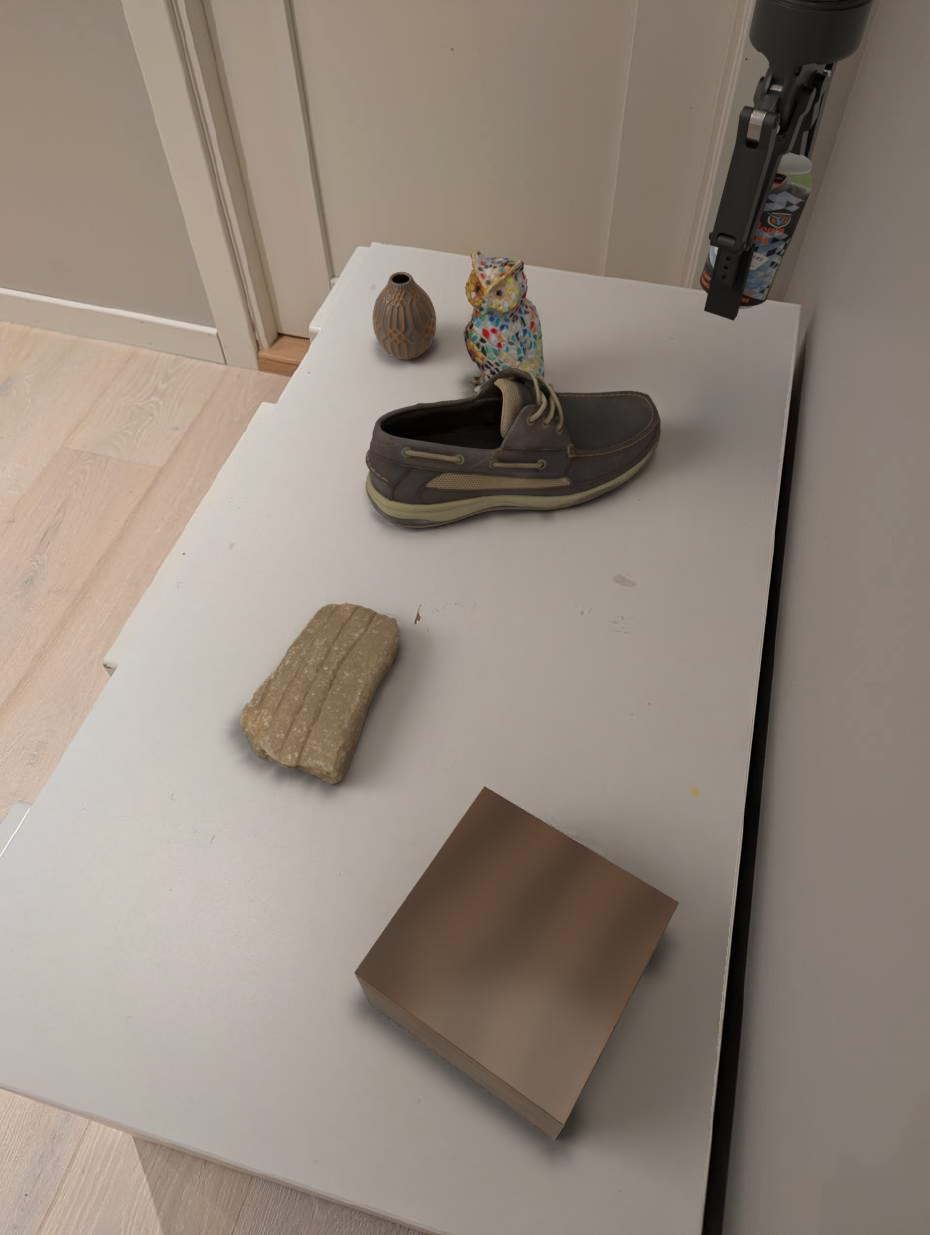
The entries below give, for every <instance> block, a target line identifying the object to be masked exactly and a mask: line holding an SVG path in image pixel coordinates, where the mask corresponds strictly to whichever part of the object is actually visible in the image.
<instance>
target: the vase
mask: <svg viewBox="0 0 930 1235" xmlns="http://www.w3.org/2000/svg"><path fill="white" fill-rule="evenodd" d="M373 305H374V306H373V310H372V327H373V332H374V336H375V338H376V340H377V343H378V344H379V345H380V347H381V348H382V350H383V351H385V352H386V354H388V355H390V356H391V357H393V358H396V359H397V360H407V361H408V360H413V359H416V358H418V357H421V355H423V354H424V353H425V352H427V351H428V349H430V346H431V345H432V344H433V341H434V339H435V336H436V331H437V314H436V309H435V306H434V304H433V301H432V299H431V297H430V295H429V294H428V293H427V292H426V291H425V290H424V289H423V288H422V287H421V285H419V284H418V283H417V282H416V280H415V279H414V278H413V275H412V274H411V273H409V272H406V271H398V272H394V273H392V274H391V275H390V276H389V279H388V281H387V284H386V285H385V286H384V287H383V289H381V291H380V293H379V294H378V296H377V297H376V300H375V301H374V304H373Z"/></svg>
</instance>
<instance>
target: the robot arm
mask: <svg viewBox="0 0 930 1235" xmlns="http://www.w3.org/2000/svg"><path fill="white" fill-rule="evenodd" d="M874 1H875V0H755V4H754V7H753V8H754V9H753V13H752V17H751V22H750V26H749V31H748V37H749V38H748V39H749V42H750V44H751V46H752V47H753V48H754V49H755V51H757V52H758V53H761V54H762V55H763V56H764V57H765V58H766V59H767V61H768V68H767V69H766V72H765V75H761V77H760V78H759V80H758V83H757V86H756V89H755V91H754V94H753V98H752V101H753V106H750V105H744V106H743V108H742V109H741V111H740V112H739V116H738V124H737V130H736V136H735V137H736V138H735V144H734V147H733V151H732V155H731V159H730V162H729V165H728V166H729V167H728V170H727V175H726V178H725V181H724V186H723V190H722V194H721V198H720V201H719V204H718V209H717V213H716V216H715V217H716V218H715V221H714V224H713V227H712V228H713V229H712V231H710V232H708V233H709V234H708V240H709V245H710V247H711V246H714V247H717V248H718V251H717V255H716V259H715V264H714V268H713V273H712V277H711V282H710V286H709V290H708V295H707V294H706V299H705V304H704V309H703V311H704V312H707V313H709V314H712V315H715V316H718V317H721V318H723V319H724V318H725V319H728V320H731V321H735V320H736V318H737V317H738V314H739V311H740V309H739V307H740V303H741V299H742V296H743V292H744V288H745V284H746V280H747V277H748V273H749V269H750V265H751V261H752V258H753V254H754V250H755V246H756V244H754V243H753V238H754V236H755V233H756V230H757V227H758V224H759V221H760V219H761V216H762V213H763V210H764V207H765V204H766V201H767V199H768V196H769V193H770V190H771V187H772V184H773V182H774V179H775V176H776V173H777V170H778V167H779V165H780V162H781V159H782V157H783V155H785V154H787V153H789V152H790V153H793V154H796V155H800V154H802V155H803V156H805V157H806V158H808V159H809V160H810V161H811V162H812V157H813V153H814V149H815V145H816V141H817V137H818V133H819V130H820V126H821V123H822V118H823V115H824V110H825V107H826V103H827V100H828V96H829V91H830V87H831V83H832V81H833V78H834V74H835V71H836V69H837V66H838V63H839V62H841V61H844V60H846V59H848V58H850V57H851V56H853V54H855V53H856V52H857V51H858V49H859V48H860V46H861V43H862V40H863V37H864V35H865V31H866V27H867V24H868V21H869V18H870V14H871V11H872V7H873V5H874Z"/></svg>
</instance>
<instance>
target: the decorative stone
mask: <svg viewBox="0 0 930 1235" xmlns="http://www.w3.org/2000/svg"><path fill="white" fill-rule="evenodd" d="M400 634H401V632H400V628H399V626H398V624H397V619H396V618H395V617H391V616H388V615H385V614H381V613H379V612H377V611H376V610H374V609H371V608H370V607H364V606H363V605H359V604H354V603H349V602H346V603H345V602H344V603H340V604H339V603H338V604H337V603H328V604H326V605H323V606H322V607H321V608H320V609H319V610H317V612H316V613H315V614H314V615H313V617H311V619H310V620H309V621H308V623H307V624H306V626H305V627H304V628H303V629H302V630H301V631H300V632H299V634H298V636H297V637H296V638H295V639H294V641H293V642H292V643H291V644H290V646H289V647H288V649H287V651H286V652H285V655H284V656H283V657H282V659H281V660H280V662H279V664H278V665H277V667H276V668H275V670H274V671H272V672H271V673H270V674H269V675H268V676H267V677H266V679H265V680H264V681H263V682H262V683H261V684H260V685H259V686H258V688H256V690H255V691H254V693H253V695H252V698H251V700H250V701H249V702H247V703H246V704H245V705H244V708H243V709H242V712H241V716H240V720H239V727H240V729H241V732H242V733H243V735H245V736H246V737H247V741H248V742H250V747H251V749H252V751H253V752H254V753H255V754H256V755H257V756H258V757H261V758H262V759H263V760H268V762H272V763H274V764H276V765H278V766H279V767H281V768H286V769H289V770H290V769H291V770H300V771H303V772H305V773H307V774H309V775H312V776H315V777H316V778H318V779H320V780H321V781H323V782H325V783H327V784H329V785H334V784H337V783H338V782H339V781H341V780H342V779H343V778H344V776H345V775H346V772H347V769H348V768H349V764H350V763H351V759H352V757H353V754H354V752H355V749H356V748H357V744H358V742H359V738H360V735H361V731H362V728H363V725H364V722H365V720H366V719H365V718H366V715H367V712H368V709H369V706H370V704H371V702H372V700H373V698H374V695H375V693H376V691H377V689H378V687H379V685H380V683H381V682H382V680H383V678H384V677H385V675H386V674H387V672H388V671H389V669H390V667H391V666H392V664H393V663H394V661H395V658H396V657H397V655H398V649H399V640H400Z"/></svg>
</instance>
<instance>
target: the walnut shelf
mask: <svg viewBox="0 0 930 1235" xmlns="http://www.w3.org/2000/svg"><path fill="white" fill-rule="evenodd" d="M679 904H680V903H679V901H677V900H676V899H674V898H672V897H671V896H669V895H667V894H665V892H662V891H660V890H659V889H657V888H656V887H654V886H652V885H650V884H649V883H647V882H646V881H644V880H643V879H641V878H639V877H637V876H636V875H634V874H633V873H630V872H629V871H627V870H625V869H624V868H622V867H621V866H619V865H617V864H615V862H612V861H611V860H609V859H607V858H605V857H604V856H602V855H601V854H599V853H598V852H596V851H594V850H592V849H590V848H589V847H587V846H585V845H584V844H582V843H580V842H579V841H577V840H575V839H574V838H572V837H570V836H569V835H567V834H565V833H564V832H562V831H560V830H559V829H557V828H555V826H552V825H551V824H549V823H547V822H545V821H543V820H542V819H540V818H539V817H537V816H535V815H534V814H532V813H530V812H529V811H527V810H525V809H524V808H522V807H520V806H519V805H517V804H516V803H514V802H512V801H510V800H508V798H505V797H504V796H502V795H501V794H498V793H496V792H495V791H493V790H492V789H491V788H488V787H487V786H484V785H483V787H482V788H481V790H480V792H479V793H478V795H477V796H476V797H475V799H474V800H473V802H472V803H471V805H469V807H468V809H467V810H466V812H464V815H463V816H462V817H461V819H460V820H459V822H458V823H457V824H456V826H455V827H454V829H453V830H452V832H451V833H450V834H449V836H448V837H447V839H446V840H445V841H444V843H443V845H442V846H441V848H440V849H439V850H438V851H437V853H436V855H435V856H434V857H433V859H432V860H431V862H430V863H429V864H428V866H427V868H426V869H425V871H423V873H422V875H421V876H420V877H419V879H418V880H417V882H416V884H415V885H414V886H413V888H412V889H411V890H410V892H409V893H408V895H407V896H406V897H405V899H404V900H403V901H402V903H401V905H400V906H399V907H398V909H397V910H396V912H395V913H394V915H393V916H392V918H391V919H390V921H389V922H388V923H387V925H386V926H385V927H384V929H383V930H382V932H381V933H380V935H379V937H378V938H377V939H376V941H375V943H373V945H372V946H371V947H370V949H369V950H368V952H367V953H366V955H365V956H364V958H363V959H362V960H361V962H360V964H359V965H358V966H357V968H356V969H355V970H354V975H355V978H356V979H357V982H358V983H359V984H360V985H359V986H360V987H361V989H362V991H363V993H364V995H365V997H366V999H367V1001H368V1004H369V1005H371V1006H372V1007H373V1008H375V1009H376V1010H377V1011H379V1012H380V1013H382V1014H383V1015H384V1016H385V1017H387V1018H388V1019H390V1020H391V1021H392V1022H393V1023H394V1024H396V1025H397V1026H399V1027H400V1028H402V1030H404V1031H405V1032H407V1033H408V1034H409V1035H411V1036H412V1037H414V1038H415V1039H416V1040H418V1041H419V1042H420V1043H421V1044H423V1045H424V1046H426V1047H427V1048H429V1049H430V1050H431V1051H433V1052H434V1053H435V1054H437V1055H438V1056H439V1057H440V1058H442V1059H444V1060H445V1061H446V1062H448V1063H449V1064H450V1065H451V1066H453V1067H455V1068H456V1069H457V1070H459V1071H460V1072H461V1073H462V1074H464V1075H465V1076H467V1077H468V1078H469V1079H470V1080H472V1081H473V1082H475V1083H476V1084H478V1085H479V1086H480V1087H482V1088H483V1089H484V1090H486V1091H487V1092H488V1093H490V1095H492V1096H494V1097H495V1098H496V1099H498V1100H499V1101H500V1102H502V1103H503V1104H504V1105H506V1106H507V1107H509V1108H510V1109H511V1110H513V1111H514V1112H515V1113H517V1114H518V1115H519V1116H521V1117H522V1118H523V1119H525V1120H526V1121H527V1122H528V1123H530V1124H532V1125H533V1126H534V1127H535V1128H537V1129H538V1130H539V1131H541V1132H543V1134H544V1135H547V1136H548V1137H549V1138H550V1139H552V1140H554V1141H556V1139H557V1137H558V1136H559V1135H560V1133H561V1131H562V1130H563V1129H564V1127H565V1126H566V1124H567V1122H568V1120H569V1118H570V1116H571V1114H572V1112H573V1110H574V1108H575V1106H576V1105H577V1103H578V1101H579V1098H580V1097H581V1094H582V1093H583V1090H584V1089H585V1087H586V1085H587V1083H588V1081H589V1080H590V1077H591V1075H592V1073H593V1071H594V1069H595V1067H596V1065H597V1064H598V1062H599V1060H600V1058H601V1056H602V1054H603V1052H604V1050H605V1048H606V1046H607V1045H608V1042H609V1040H610V1039H611V1036H612V1034H613V1032H614V1031H615V1028H616V1027H617V1025H618V1023H619V1022H620V1021H619V1020H620V1019H621V1017H622V1015H623V1013H624V1012H625V1009H626V1007H627V1005H628V1003H629V1001H630V1000H631V998H632V995H633V993H634V992H635V989H636V987H637V986H638V983H639V982H640V980H641V978H642V975H643V974H644V972H645V970H646V969H647V967H648V965H649V963H650V961H651V958H652V956H653V955H654V952H655V951H656V949H657V947H658V945H659V943H660V941H661V939H662V937H663V935H664V934H665V931H666V929H667V928H668V926H669V923H670V921H671V920H672V918H673V915H674V914H675V912H676V910H677V908H678V906H679Z"/></svg>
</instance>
